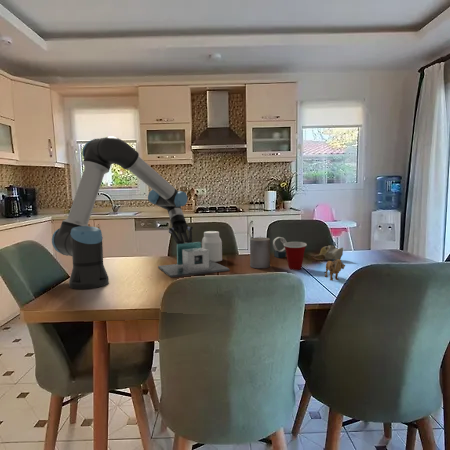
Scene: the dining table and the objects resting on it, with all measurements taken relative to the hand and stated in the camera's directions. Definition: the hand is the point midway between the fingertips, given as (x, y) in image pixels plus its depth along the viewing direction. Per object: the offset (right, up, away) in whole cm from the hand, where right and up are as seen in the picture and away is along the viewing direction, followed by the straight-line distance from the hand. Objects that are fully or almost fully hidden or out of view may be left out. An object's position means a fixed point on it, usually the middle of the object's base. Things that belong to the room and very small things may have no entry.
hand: (188, 254), depth 181 cm
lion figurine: (+63, -8, -27) cm, 69 cm away
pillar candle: (+35, -6, -2) cm, 36 cm away
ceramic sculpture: (+72, -4, +11) cm, 73 cm away
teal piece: (+3, -5, -6) cm, 8 cm away
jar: (+11, -4, +17) cm, 20 cm away
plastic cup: (+51, -6, -8) cm, 52 cm away
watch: (+48, -3, +22) cm, 53 cm away
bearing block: (+3, -6, -6) cm, 9 cm away
